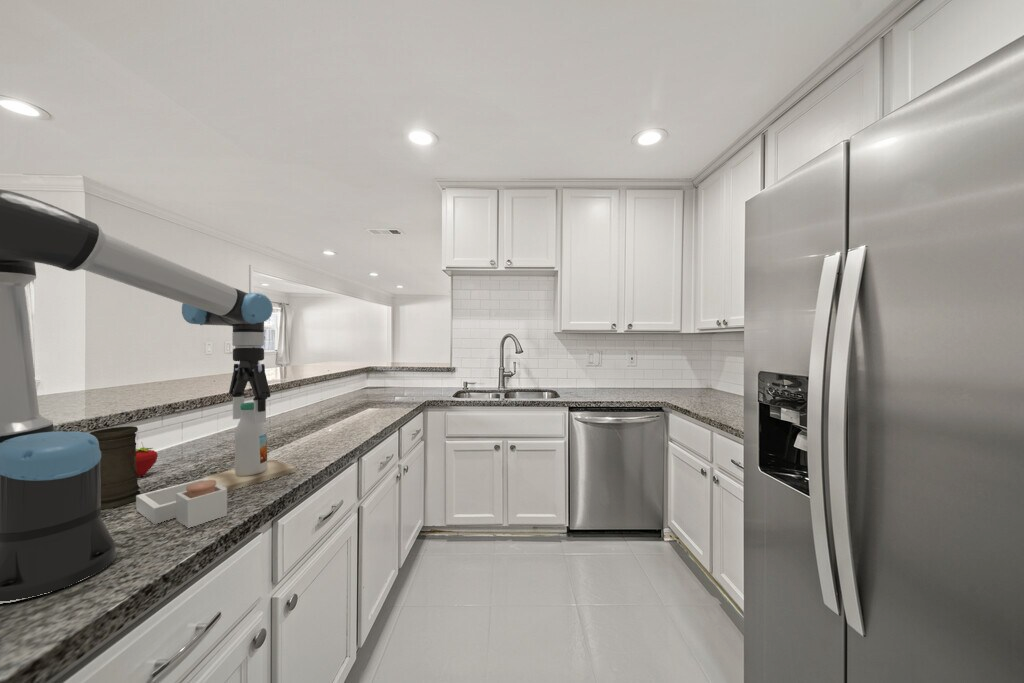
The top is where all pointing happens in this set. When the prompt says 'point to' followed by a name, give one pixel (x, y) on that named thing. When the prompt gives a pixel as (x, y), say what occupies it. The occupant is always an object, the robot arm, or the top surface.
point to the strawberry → (145, 460)
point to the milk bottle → (250, 444)
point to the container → (117, 466)
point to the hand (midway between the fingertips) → (248, 421)
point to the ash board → (251, 476)
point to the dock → (183, 505)
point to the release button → (201, 488)
